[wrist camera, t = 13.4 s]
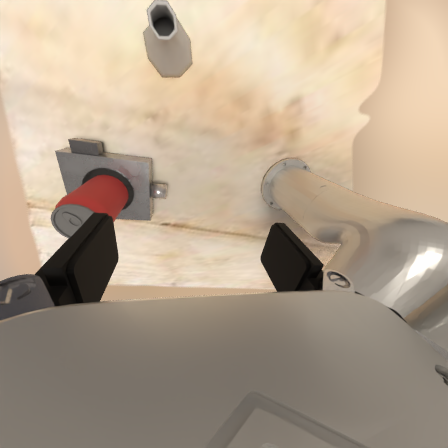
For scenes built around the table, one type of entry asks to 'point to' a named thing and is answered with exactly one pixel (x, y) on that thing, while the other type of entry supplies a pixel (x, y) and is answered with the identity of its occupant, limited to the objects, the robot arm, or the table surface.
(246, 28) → the table surface
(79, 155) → the motor housing
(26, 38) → the table surface
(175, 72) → the flask
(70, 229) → the beer can
